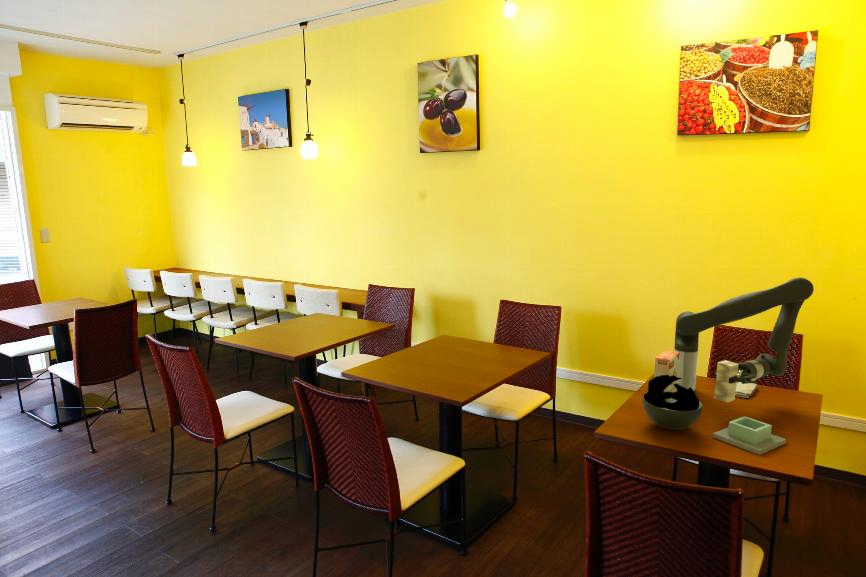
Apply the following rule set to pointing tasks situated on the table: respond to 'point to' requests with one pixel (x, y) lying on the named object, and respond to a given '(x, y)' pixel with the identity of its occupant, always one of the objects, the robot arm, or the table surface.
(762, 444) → the socket holder
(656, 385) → the coal bowl
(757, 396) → the table surface
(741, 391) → the washcloth
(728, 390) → the square peg
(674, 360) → the cracker box
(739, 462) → the table surface
